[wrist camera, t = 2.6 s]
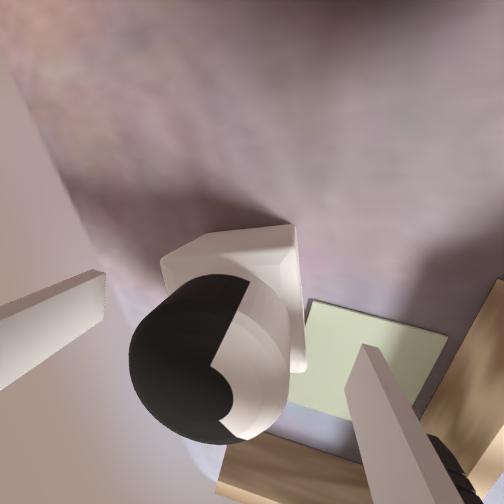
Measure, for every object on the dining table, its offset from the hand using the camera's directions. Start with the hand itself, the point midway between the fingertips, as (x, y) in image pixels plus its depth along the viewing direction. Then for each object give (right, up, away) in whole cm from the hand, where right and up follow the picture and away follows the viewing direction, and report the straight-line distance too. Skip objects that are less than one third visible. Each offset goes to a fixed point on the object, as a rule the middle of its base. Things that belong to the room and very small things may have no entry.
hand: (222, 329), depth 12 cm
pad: (+10, -6, +8) cm, 14 cm away
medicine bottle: (+2, +2, +8) cm, 8 cm away
